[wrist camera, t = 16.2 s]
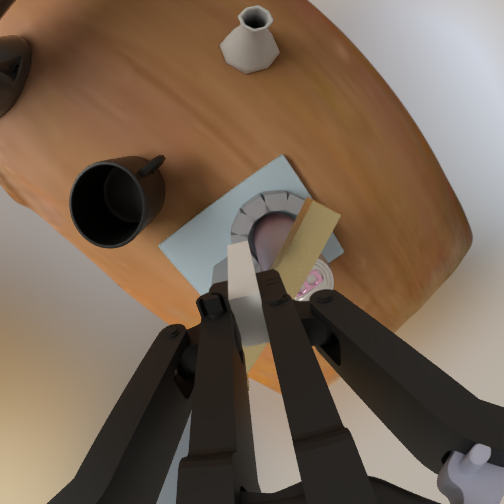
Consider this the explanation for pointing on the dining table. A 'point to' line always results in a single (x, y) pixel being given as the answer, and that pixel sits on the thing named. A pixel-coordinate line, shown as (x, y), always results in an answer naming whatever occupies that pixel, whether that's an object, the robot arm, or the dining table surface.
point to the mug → (117, 199)
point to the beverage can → (270, 242)
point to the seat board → (217, 224)
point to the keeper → (299, 255)
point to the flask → (251, 41)
